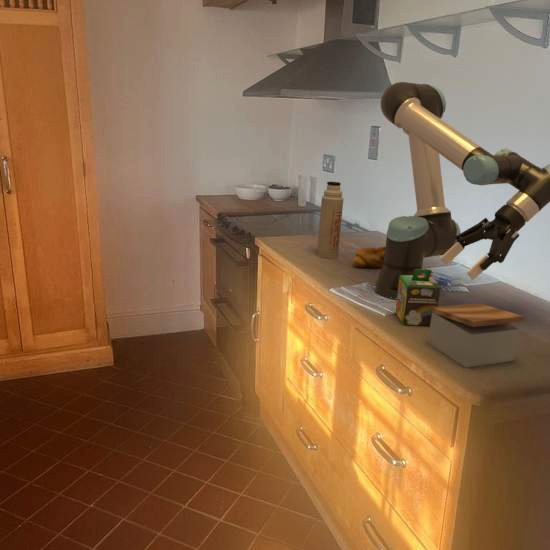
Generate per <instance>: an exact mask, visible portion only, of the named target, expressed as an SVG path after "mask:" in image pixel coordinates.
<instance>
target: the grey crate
mask: <svg viewBox="0 0 550 550" xmlns="http://www.w3.org/2000/svg"><path fill="white" fill-rule="evenodd" d="M428 332H429V333H428V337H427V343H428V345H430V346H432V347H433V348H435V349H436V350H438V351H439V352H441V353H443V354H445V355H446V356H447V357H449V358H450V359H452V360H453V361H454V362H456V363H458V364H460V366H462V367H464V368H472V367H473V368H474V367H480V366H487V365H494V364H502V363H509V362H514V360H515V356H516V351H517V347H518V341H519V337H520V332H521V329H520V328H519V327H517V326H515V325H513V324H511V323H505V324H496V325H486V326H477V327H472V326H469V325H466V324H463V323H460V322H458V321H455V320H452V319H449V318H446V317H443V316H441V315H438V314H435V313H432V317H431V323H430V326H429V331H428Z"/></svg>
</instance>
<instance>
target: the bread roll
mask: <svg viewBox="0 0 550 550" xmlns="http://www.w3.org/2000/svg"><path fill="white" fill-rule="evenodd" d="M385 248H386V246H380V247H377V248H376V247H362V248H359V249H358V250H357V251H356V252H355V256H354V258H353V259H352V264H353V266H354V267H356V268H359V269H365V268H370V269H379V268H383V265H384V256H385Z"/></svg>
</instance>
